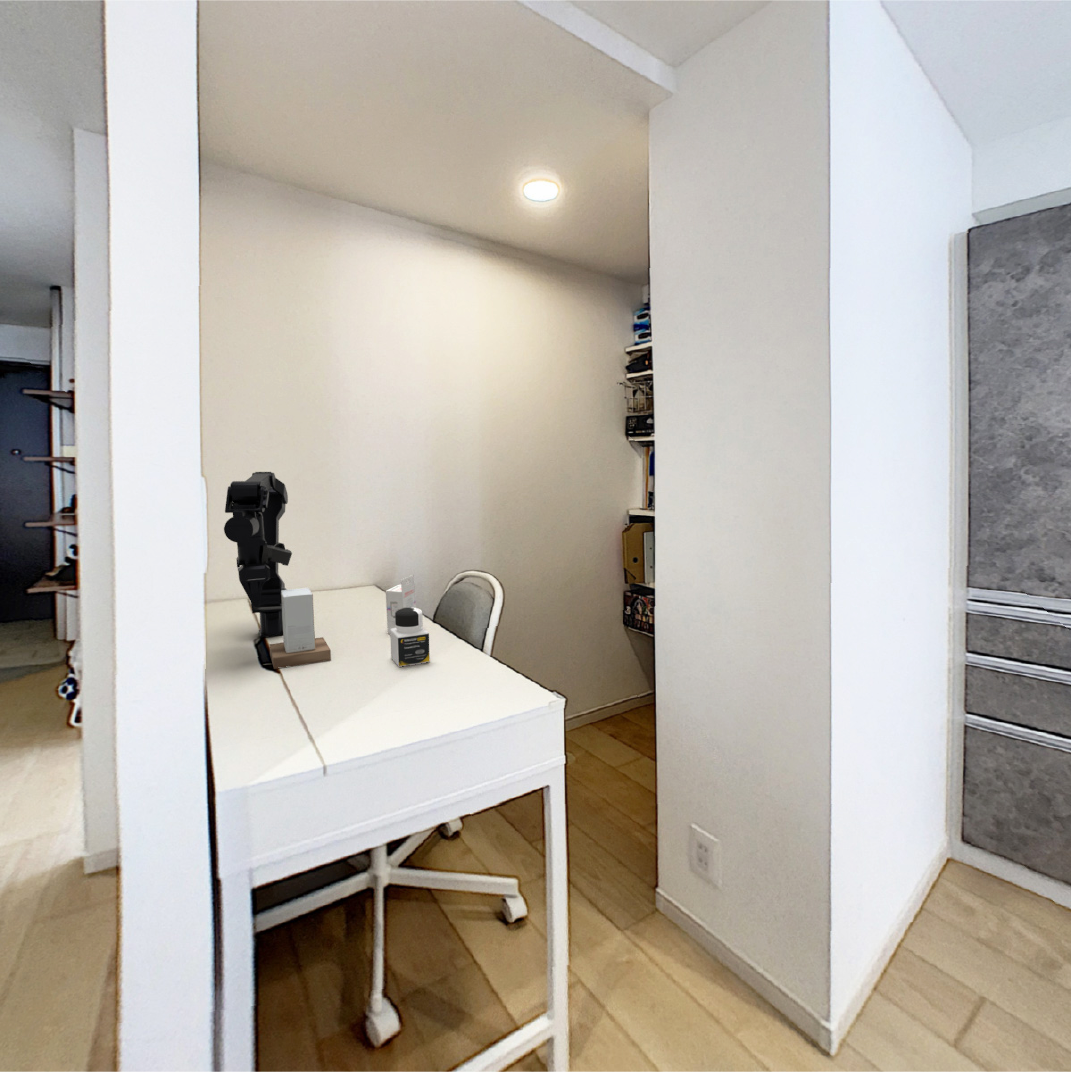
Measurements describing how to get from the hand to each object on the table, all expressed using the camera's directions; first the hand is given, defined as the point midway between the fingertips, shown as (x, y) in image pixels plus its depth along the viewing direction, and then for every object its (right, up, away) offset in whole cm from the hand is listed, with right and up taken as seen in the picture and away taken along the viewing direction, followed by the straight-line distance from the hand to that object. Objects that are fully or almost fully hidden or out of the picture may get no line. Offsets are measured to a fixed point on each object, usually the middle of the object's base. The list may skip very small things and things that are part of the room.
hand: (255, 602), depth 139 cm
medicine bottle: (+37, -13, -2) cm, 39 cm away
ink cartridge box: (+29, -10, +22) cm, 38 cm away
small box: (+11, -11, -1) cm, 15 cm away
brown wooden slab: (+11, -13, 0) cm, 17 cm away
